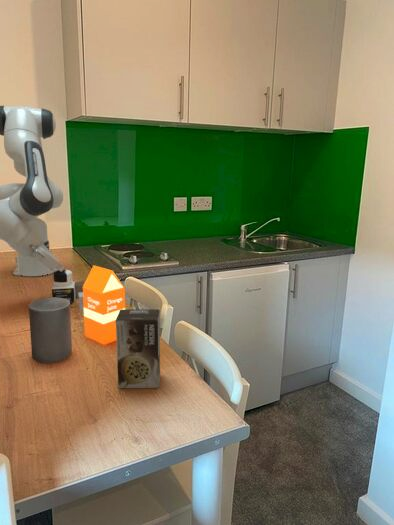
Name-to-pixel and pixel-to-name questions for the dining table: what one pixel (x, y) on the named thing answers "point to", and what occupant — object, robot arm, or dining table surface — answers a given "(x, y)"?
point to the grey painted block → (81, 301)
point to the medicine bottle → (64, 286)
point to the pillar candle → (50, 329)
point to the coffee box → (138, 348)
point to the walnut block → (78, 288)
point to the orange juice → (102, 304)
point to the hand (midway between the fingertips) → (62, 269)
